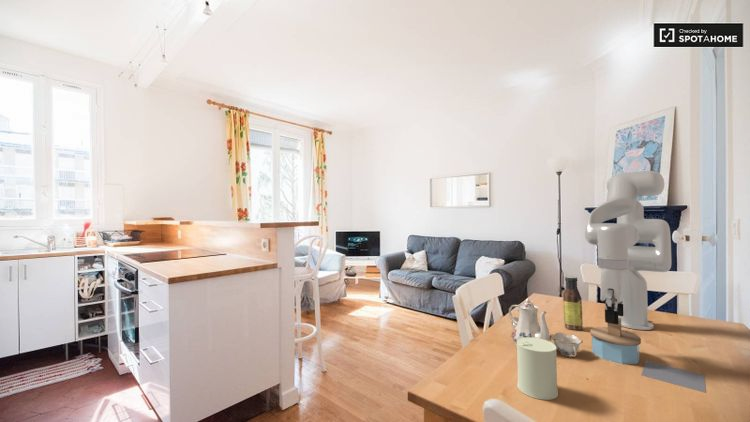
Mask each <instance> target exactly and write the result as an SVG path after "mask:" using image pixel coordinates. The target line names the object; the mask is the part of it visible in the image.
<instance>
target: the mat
mask: <svg viewBox="0 0 750 422" xmlns="http://www.w3.org/2000/svg"><path fill="white" fill-rule="evenodd" d="M641 376H643V377H646V378H650V379H653V380H657V381H660V382H661V381H662V382H665V383H669V384H671V385H672V384H673V385H675V386H680V387H683V388H687V389H691V390H694V391H698V392H701V393H706V392H707V391H706V381H705V377H706V376H705V374H702V373H699V372H694V371H691V370H686V369H682V368H679V367H674V366H671V365H666V364H662V363H659V362H655V361H650V360H645V361H644V365H643V368H642V370H641Z"/></svg>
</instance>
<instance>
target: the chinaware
mask: <svg viewBox="0 0 750 422" xmlns="http://www.w3.org/2000/svg"><path fill="white" fill-rule="evenodd" d="M513 307H517V309H516V311H518V312H519V314H518V315H519V316H514V317H513V315H512V309H513ZM539 308H540V307H539V306H538V305H537V306H536V305H534V303H533V302H531V300H530V299H529V298H526V299H525V301H524V302H522V303H521V304H512V305H511V306H510V307H509V308H508V315H509V317H510V318H509V319H511V326H512V327H513V328H514V329H513V331H512V333H511V335H510V337H511V339H512V340H513V341H514V343H515V346H516V347H517V340H518V339H519V338H524V337H533V338H539V339H543V340H547V341H549V342H550V338H551V339H552V341H553V344H554V345H555V346H556V347H557V350H558V351H559V352H560V355H561V356H564V357H570V358H571V357H574V358H575V357H576V356H577V352H578V350H579V349H580V345H581V344H583V343H584V342H583V340H582V339H580V338H579V337H578V336H576V335H573V334H568V335H567V333H566V334H565V333H564V332H557V333H555V334H552V333H551V334H550V331H549V328H548V324H547V322H546V321H547V320H546V317H545V316H546V314H547V313H548V312H547V311H545V310H543V311H542V312H540V314H539V319H538V311H539Z"/></svg>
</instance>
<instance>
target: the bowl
mask: <svg viewBox="0 0 750 422" xmlns="http://www.w3.org/2000/svg"><path fill="white" fill-rule="evenodd" d="M591 347H592V348H591V351H592V352H591V353H593V354H594V355H596V356H598V357H599V358H601V359H602V360H604V361H605V360H606V361H610V362H614V363H617V364H621V365H637V364H638V363H639V362H640V344H639V345H636V346H624V345H617V344H611V343H607V342H604V341H601V340H598V339H596V338H594V337H593V336H592V335H591Z"/></svg>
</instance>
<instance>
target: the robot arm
mask: <svg viewBox="0 0 750 422" xmlns="http://www.w3.org/2000/svg"><path fill="white" fill-rule="evenodd" d="M664 189H665V180H664V177H663V175H662V174H661V173H659V171H656V170H655V171H654V170H645V171H644V170H643V171H642V170H641V171H631V172H623V173H621V172H620V173H618V174H615V175H613V176H612V177H611V178H609V179H608V180H607V182H606V190H607V195H606V200H605V201H604V202H603V203H601V204H600V205H598V206H597V207H595V208H594V209H593V210H592V211H591V212H590V213H589V215H588V217H587V220H586V225H585V228H584V229H585V230H584V237H585V240H586V242H587V243H588V244H590V245H592V246H597V266H598V269H599V270H601V273H600V298H599V299H600V301H601V302H605V304H604V305H605V307H604V322H605V323H606V324H608V323H611V324H616V325H618V323H619V320H618V318H621V327H623V328H626V329H632V330H640V331H650V330H654V324H653V323H651V322H649V311H648V310H649V306H648V283H647V280H646V278H645V277H644V276H643V275H642V274H641V273H640V272H641V271H643V272H653V273H654V272H655V273H666V272H669V271H670V270H671V268H672V242H671V238H672V237H671V228H670V225H669V223H668V222H667V221H666V220H664V219H660V218H645V217H644V214H645V213H644V211H645V210H644V209H645V208H644V205H643V204H642V203H641V202H640V201H639V200H638V198H637V197H643V196H647V197H648V196H649V197H651V196H659V195H662V193H663V192H664ZM613 219H616V223H614V222H612V223H611V222H610V223H609V222H606V221H609V220H613ZM639 243H640V244H652V245H654V246H643V245H642V246H641V245H636V244H639ZM639 271H640V272H639Z"/></svg>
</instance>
